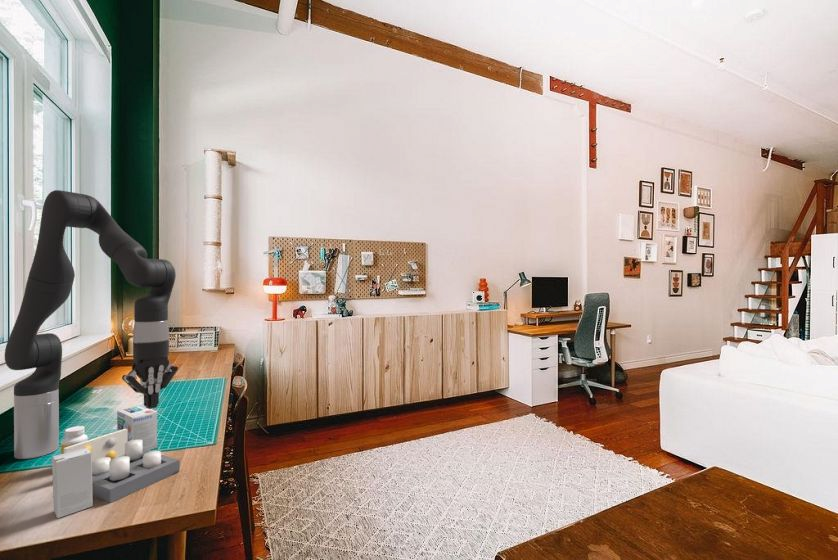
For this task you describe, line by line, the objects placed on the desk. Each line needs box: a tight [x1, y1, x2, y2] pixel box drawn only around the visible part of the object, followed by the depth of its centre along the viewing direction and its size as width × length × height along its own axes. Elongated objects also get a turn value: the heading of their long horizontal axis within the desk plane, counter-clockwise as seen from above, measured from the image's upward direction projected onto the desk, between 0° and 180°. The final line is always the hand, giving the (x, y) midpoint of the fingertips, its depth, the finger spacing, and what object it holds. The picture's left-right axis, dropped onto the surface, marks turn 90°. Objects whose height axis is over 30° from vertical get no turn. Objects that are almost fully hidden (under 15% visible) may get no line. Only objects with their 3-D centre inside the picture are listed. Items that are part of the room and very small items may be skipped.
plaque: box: [64, 429, 128, 461], centre depth 106 cm, size 1×14×8 cm, turn 155°
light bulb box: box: [116, 404, 158, 451], centre depth 119 cm, size 11×7×11 cm, turn 55°
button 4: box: [143, 450, 162, 469], centre depth 102 cm, size 4×4×4 cm
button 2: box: [109, 456, 130, 481], centre depth 96 cm, size 4×4×4 cm
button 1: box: [92, 457, 111, 477], centre depth 99 cm, size 4×4×4 cm
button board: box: [92, 450, 181, 504], centre depth 101 cm, size 16×16×3 cm
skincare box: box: [51, 448, 94, 519], centre depth 87 cm, size 6×4×12 cm
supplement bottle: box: [60, 425, 89, 454], centre depth 108 cm, size 5×5×10 cm
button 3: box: [125, 440, 143, 461], centre depth 106 cm, size 4×4×4 cm
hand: (151, 407), depth 102 cm, fingers closed
